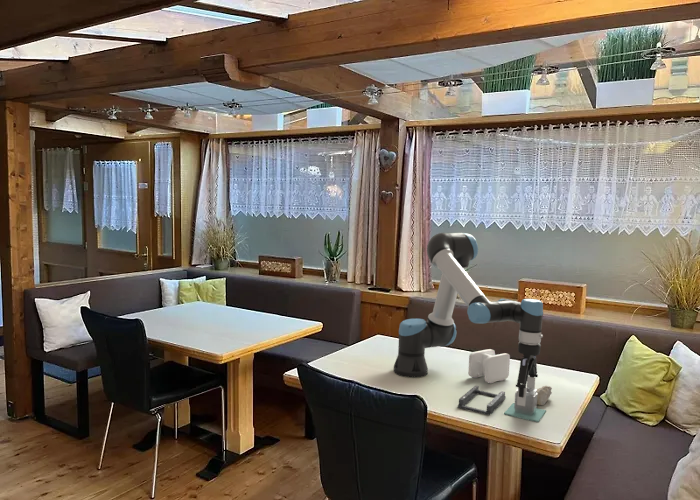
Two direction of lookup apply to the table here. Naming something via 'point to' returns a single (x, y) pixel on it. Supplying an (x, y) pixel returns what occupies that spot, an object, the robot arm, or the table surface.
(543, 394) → the stone
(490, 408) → the dark grey open frame
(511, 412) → the pad
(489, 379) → the cable organizer
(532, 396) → the grey cube with hole
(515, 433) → the table surface
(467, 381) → the table surface
